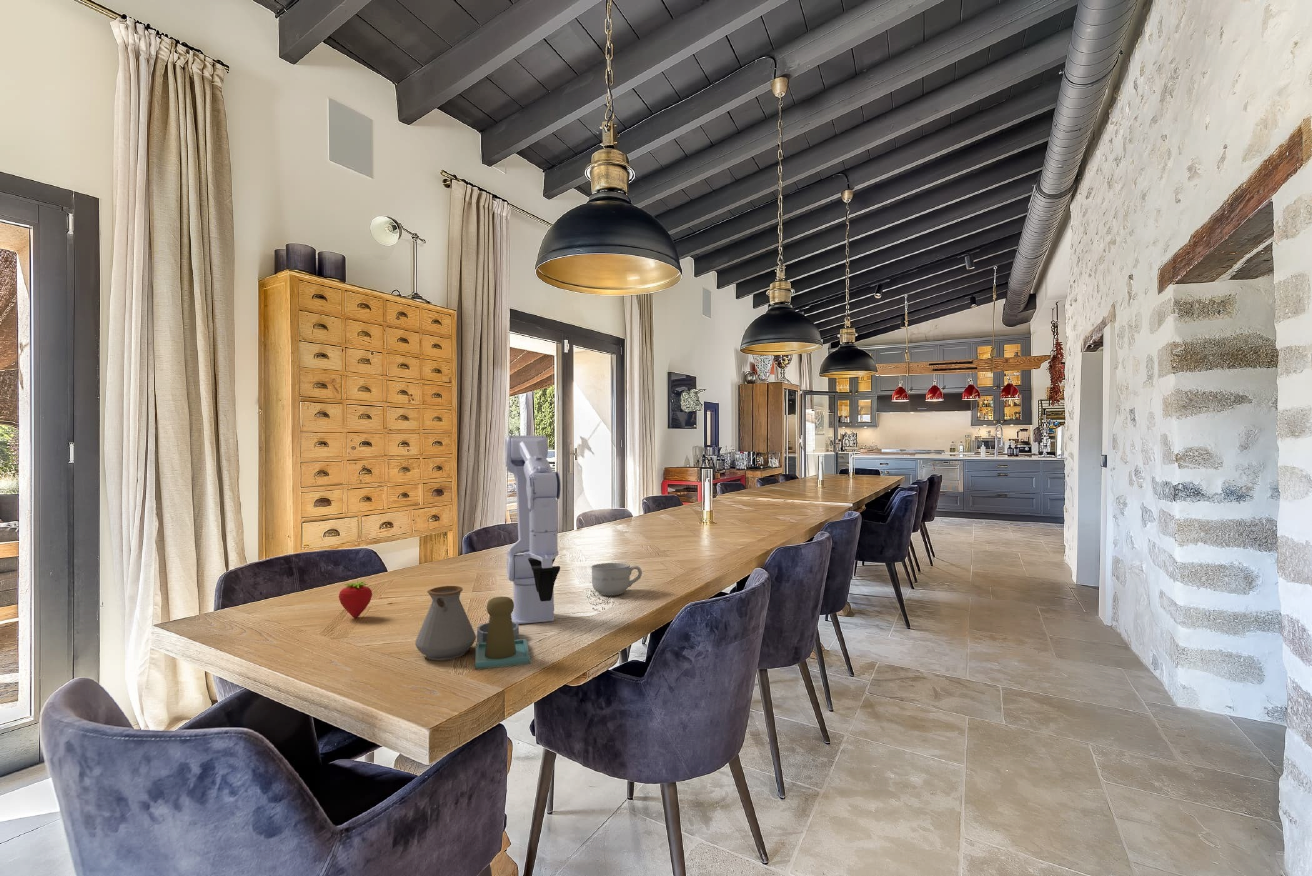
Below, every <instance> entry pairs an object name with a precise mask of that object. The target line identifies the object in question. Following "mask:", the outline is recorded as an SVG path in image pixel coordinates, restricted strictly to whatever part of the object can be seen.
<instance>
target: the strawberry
mask: <svg viewBox="0 0 1312 876" xmlns="http://www.w3.org/2000/svg"><path fill="white" fill-rule="evenodd" d="M365 582H366V581H357V583H356V582H355V583H354V582H353V583H351V582H350V583H346V584H344V586H346V587H344V588H342V589H341V590H340V591H339V594H338V599H339V602H340V604H341V606H342V607H343V608H344V610H345V611H346V612H347V613H348V614H349V615H350V616H351V618H355V619H357V618H359V616H360V615H361V614H362V613H363V612H364V611H365V609H366V608H367V607H368V605H369V604H370V603H371V600H372V597H373V592H372V589H371V588H370V587H369V586H367V585H369V584H368V583H365Z"/></svg>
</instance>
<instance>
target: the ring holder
mask: <svg viewBox="0 0 1312 876" xmlns="http://www.w3.org/2000/svg"><path fill="white" fill-rule="evenodd" d="M512 625H513V632H514V640H519V639H520V635H519V633H520V631H519V629H520V628H519V624H518V623H515V622H512ZM488 626H489V622H484V623H482V624H480V625H479V626H477V627H476V642H477V643H486V641H487V633H488ZM518 638H519V639H518Z"/></svg>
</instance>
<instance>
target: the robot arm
mask: <svg viewBox="0 0 1312 876" xmlns="http://www.w3.org/2000/svg"><path fill="white" fill-rule="evenodd" d="M548 454H549V442H548V437H547V436H546V435H545V434H541V435H511V434H508V435H506V437H505V438H504V460H505V467H506V471H507V472H509V473H511V474H513V477H514V481H515V490H516V491H515V492H516V494H515V495H516V512H517V513H516V514H517V532H518V533H517V534H518V536H517V537H518V540H517V541H516V542H515V543H513V544H512V545H511V546H510V547H509V548H508V550H507V553H506V554H507V556H506V558H507V559H506V574H507V579H508V581H510V582H512V583H513V603H514V609H513V612H512V613H511V618H512V622H515V623H518V625H521V624H524V625H525V624H534V623H546V622H554V621H555V617H554V616H555V615H554V614H555V599H554V595H555V594H554V588H555V583H556V580H557V577H558V575H559V573H560V571H561V566H560V565H553V564H554V563H555V560H556V558H557V557H558V556H559V550H558V545H559V544H558V500H559V499H560V497H561V490H562V488H561V487H562V482H561V477H560V473H559V471H553V469H552V466H551V464H550V461H549V460H548V459H547V458H548Z"/></svg>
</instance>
